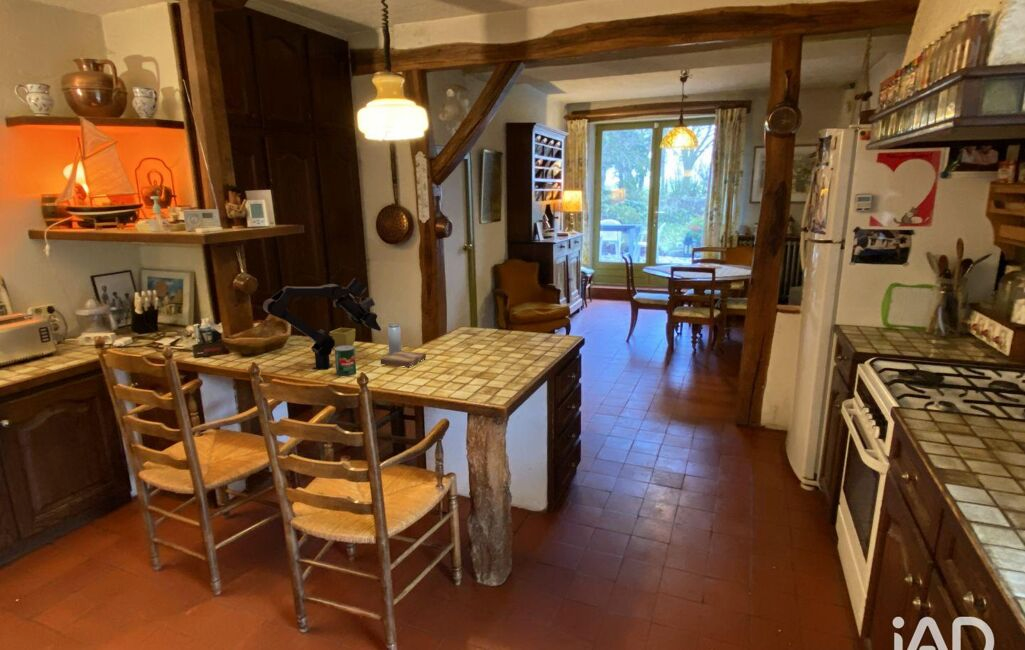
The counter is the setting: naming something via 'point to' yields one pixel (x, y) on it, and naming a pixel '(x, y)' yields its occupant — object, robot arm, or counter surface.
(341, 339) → the flower pot
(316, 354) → the robot arm
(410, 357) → the board
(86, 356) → the counter surface
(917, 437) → the counter surface
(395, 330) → the grey can
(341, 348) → the canned tomato
